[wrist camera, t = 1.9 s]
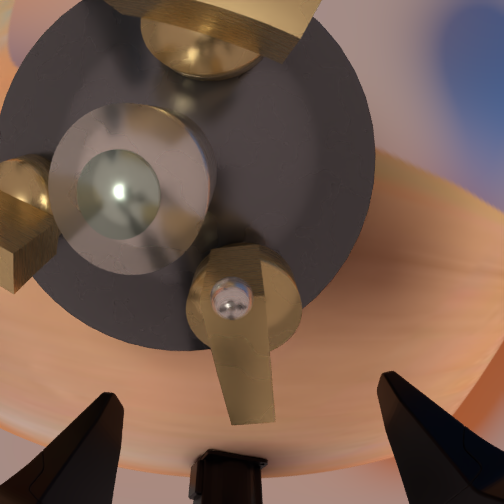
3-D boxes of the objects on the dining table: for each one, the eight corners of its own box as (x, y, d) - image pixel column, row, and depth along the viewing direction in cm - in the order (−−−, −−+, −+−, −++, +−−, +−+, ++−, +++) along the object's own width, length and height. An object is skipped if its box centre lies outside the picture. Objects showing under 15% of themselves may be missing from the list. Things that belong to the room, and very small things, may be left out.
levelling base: (420, 85, 12) (517, 81, 5) (258, 370, 19) (264, 460, 13) (81, -36, 8) (15, -80, 2) (-1, 261, 15) (-61, 316, 9)
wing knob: (296, 334, 16) (316, 428, 10) (204, 343, 16) (192, 437, 10) (291, 209, 13) (328, 281, 7) (177, 221, 13) (134, 298, 7)
